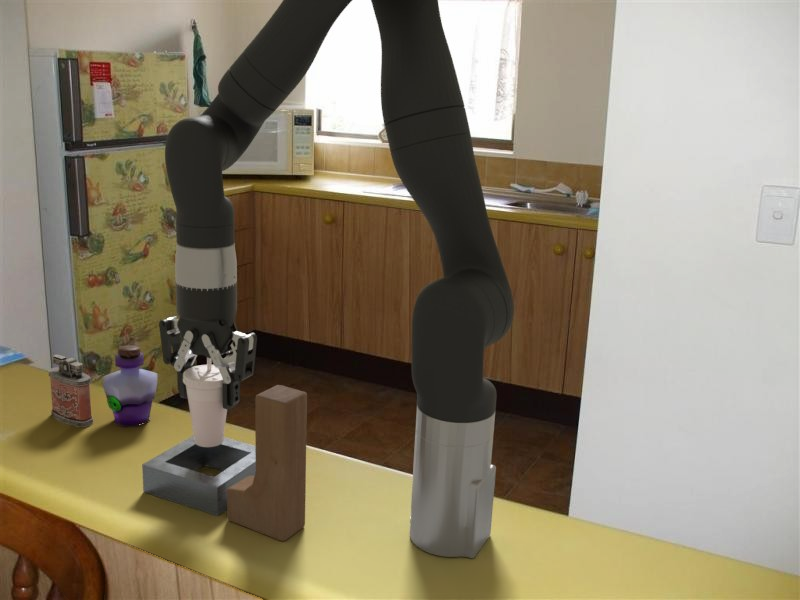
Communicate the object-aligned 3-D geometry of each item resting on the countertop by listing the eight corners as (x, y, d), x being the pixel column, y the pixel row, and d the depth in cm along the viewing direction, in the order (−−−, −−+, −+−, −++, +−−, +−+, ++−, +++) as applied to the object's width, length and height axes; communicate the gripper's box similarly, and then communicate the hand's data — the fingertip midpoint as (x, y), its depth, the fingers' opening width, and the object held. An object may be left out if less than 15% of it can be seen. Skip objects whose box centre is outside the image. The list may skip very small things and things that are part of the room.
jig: (271, 476, 117) (271, 450, 116) (217, 516, 106) (217, 487, 105) (201, 456, 122) (201, 430, 120) (143, 492, 111) (142, 464, 110)
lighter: (98, 422, 131) (95, 361, 128) (80, 429, 128) (76, 367, 126) (64, 409, 135) (60, 349, 132) (46, 415, 132) (41, 355, 130)
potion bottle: (93, 428, 129) (88, 354, 125) (118, 406, 137) (114, 336, 134) (147, 433, 128) (144, 359, 125) (169, 411, 136) (167, 340, 133)
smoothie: (239, 432, 115) (239, 335, 111) (225, 454, 109) (224, 351, 105) (193, 428, 116) (191, 331, 112) (176, 449, 110) (174, 347, 106)
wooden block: (226, 520, 105) (224, 386, 100) (249, 505, 109) (248, 374, 104) (283, 543, 101) (285, 403, 96) (306, 526, 105) (308, 391, 100)
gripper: (271, 280, 106) (270, 404, 111) (180, 264, 112) (183, 381, 117) (235, 294, 100) (236, 424, 105) (140, 275, 106) (145, 399, 110)
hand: (208, 401), depth 111 cm, fingers closed on smoothie, 6 cm apart
